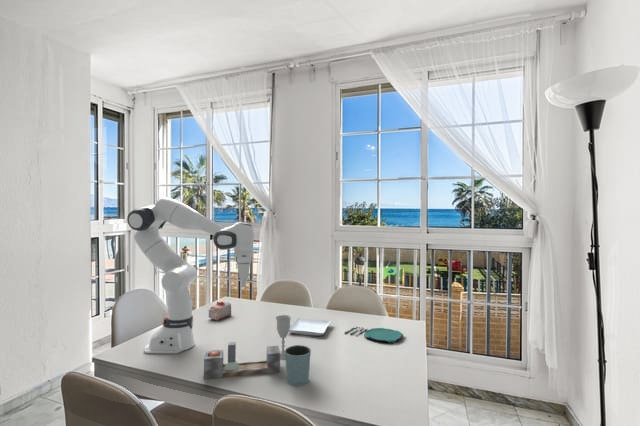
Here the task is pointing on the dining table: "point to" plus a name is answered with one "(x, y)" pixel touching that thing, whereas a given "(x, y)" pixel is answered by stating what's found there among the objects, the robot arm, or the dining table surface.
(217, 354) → the button
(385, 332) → the cutlery set
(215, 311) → the food item
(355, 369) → the dining table surface
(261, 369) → the rail
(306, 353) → the blue-grey cup
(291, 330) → the salad plate
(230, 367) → the carriage
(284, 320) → the chalice
